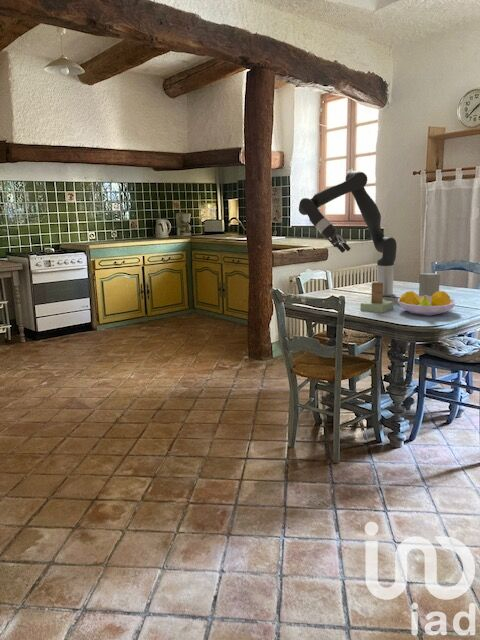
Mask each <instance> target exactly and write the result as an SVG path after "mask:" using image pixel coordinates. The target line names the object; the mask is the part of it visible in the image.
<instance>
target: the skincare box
mask: <svg viewBox="0 0 480 640" xmlns="http://www.w3.org/2000/svg"><path fill="white" fill-rule="evenodd" d="M440 278H441V274H440V273H434V272H431V273H430V272H429V273H428V272H427V273H425V272H424V273H419V288H418V295H419V296H424V295H426V296H432V295H433V294H434V293H435V292H436V291H440V284H441V283H440V280H441V279H440Z"/></svg>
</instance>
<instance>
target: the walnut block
mask: <svg viewBox="0 0 480 640" xmlns="http://www.w3.org/2000/svg"><path fill="white" fill-rule="evenodd" d="M383 299H384V298H383V282H377V281H372V282H371V299H370V300H371V303H382V302H383V301H384V300H383Z"/></svg>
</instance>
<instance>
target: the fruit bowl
mask: <svg viewBox="0 0 480 640" xmlns="http://www.w3.org/2000/svg"><path fill="white" fill-rule="evenodd" d="M397 303H398V304H399V306H400V308H401V309H403V310H405V311H407V312H408V313H409V314H412V315H421V316H429V317H430V316H434V315H435V316H436V315H439V314H444V313H447V312H448V311H450V310H452V309H453V308H454V306H455V305H456V300H454V299H451V297H450V295H449V294H448V293H447V292H446V291H445V290H439V291H436V292H435V293H434V294H433V295H432V296H426V295H424V296H419V294H417V293H416V292H414V291H413V290H410V291H406V292H404V293H403V294H401V295H400V297H399V298H398V300H397Z"/></svg>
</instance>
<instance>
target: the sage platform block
mask: <svg viewBox="0 0 480 640" xmlns="http://www.w3.org/2000/svg"><path fill="white" fill-rule="evenodd" d="M392 309H394V301H390V300H383V302H382V303H371V299H369V300H366V301H363V302H360V311H366V312H375V313H386V312H388V311H390V310H392Z"/></svg>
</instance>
